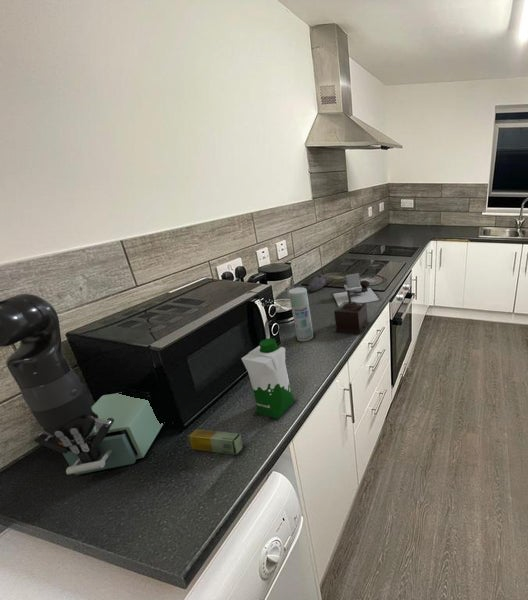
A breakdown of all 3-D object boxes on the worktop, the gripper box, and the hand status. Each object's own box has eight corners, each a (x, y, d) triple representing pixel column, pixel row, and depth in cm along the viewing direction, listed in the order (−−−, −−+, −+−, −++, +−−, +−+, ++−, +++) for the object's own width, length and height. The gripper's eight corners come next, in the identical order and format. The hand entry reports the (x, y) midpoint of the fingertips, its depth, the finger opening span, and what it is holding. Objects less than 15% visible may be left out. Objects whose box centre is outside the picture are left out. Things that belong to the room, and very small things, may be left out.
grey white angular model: (379, 299, 160) (378, 278, 156) (338, 306, 154) (336, 284, 150) (370, 288, 177) (368, 267, 173) (332, 293, 171) (330, 273, 166)
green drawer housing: (143, 457, 75) (128, 426, 72) (80, 470, 73) (61, 438, 69) (168, 415, 88) (157, 386, 85) (116, 424, 86) (102, 395, 82)
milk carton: (298, 400, 92) (287, 340, 85) (277, 422, 84) (262, 358, 77) (274, 394, 95) (260, 335, 87) (251, 415, 87) (234, 352, 80)
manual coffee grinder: (361, 334, 128) (357, 292, 121) (335, 332, 130) (330, 290, 123) (373, 317, 142) (370, 279, 135) (350, 315, 144) (346, 278, 137)
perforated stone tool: (313, 294, 170) (311, 282, 168) (304, 293, 172) (303, 281, 170) (328, 285, 183) (327, 273, 180) (321, 284, 185) (319, 273, 182)
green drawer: (124, 480, 69) (110, 453, 66) (61, 493, 67) (43, 466, 64) (160, 421, 85) (150, 397, 82) (110, 430, 83) (98, 406, 80)
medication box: (243, 447, 77) (241, 433, 76) (236, 455, 75) (234, 441, 74) (199, 441, 79) (196, 428, 78) (190, 449, 76) (187, 435, 75)
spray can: (297, 342, 123) (288, 294, 116) (296, 335, 129) (288, 288, 121) (314, 339, 125) (307, 291, 118) (313, 332, 131) (305, 286, 123)
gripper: (107, 378, 67) (137, 441, 73) (30, 390, 64) (68, 454, 70) (84, 402, 60) (119, 468, 66) (-3, 416, 57) (42, 484, 64)
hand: (93, 461), depth 68 cm, fingers closed
